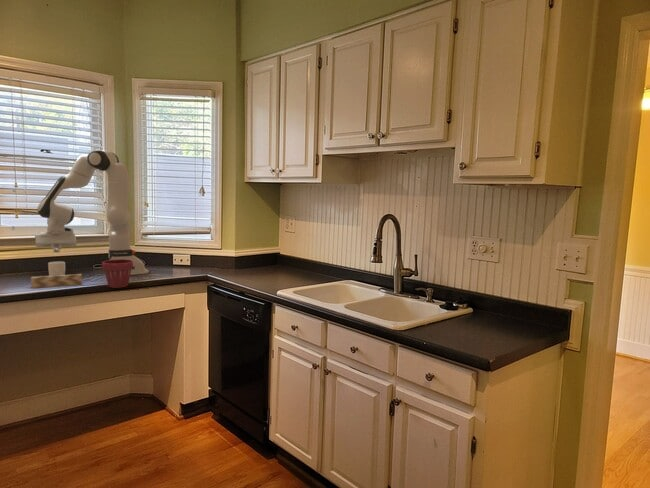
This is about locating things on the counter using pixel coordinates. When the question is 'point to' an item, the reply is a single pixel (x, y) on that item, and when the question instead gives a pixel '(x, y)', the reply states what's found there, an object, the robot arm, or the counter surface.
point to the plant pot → (117, 272)
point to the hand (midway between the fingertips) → (56, 251)
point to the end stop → (56, 280)
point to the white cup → (56, 268)
